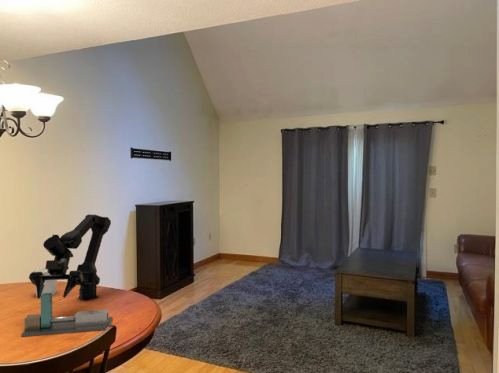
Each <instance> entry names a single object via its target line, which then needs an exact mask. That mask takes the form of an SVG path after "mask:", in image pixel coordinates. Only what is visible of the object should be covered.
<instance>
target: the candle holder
mask: <svg viewBox="0 0 499 373" xmlns="http://www.w3.org/2000/svg"><path fill="white" fill-rule="evenodd" d="M45 268H46V266H44V267H38V268H35V269H34V270H33V272H42V273H43V275H50V273H48V272H47V271H48V269H45ZM43 284H44V288H43V291H42V294H43V293H52V296H54V295H56V294H57V280H45V283H43ZM34 288H35V296H36V297H37V287H36V286H35V285H34ZM42 294H41V295H42Z"/></svg>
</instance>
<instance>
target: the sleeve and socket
mask: <svg viewBox="0 0 499 373" xmlns="http://www.w3.org/2000/svg"><path fill="white" fill-rule="evenodd" d="M109 314H110V313H109V309H107V308H106V309H97V310H96V309H95V310H81V311H80V310H79V311H77V313H76V314H75V315H74V316H75V321H74V322H60V323H53V324H52V325H51V327H44V328H41V324H40V319H41V313H39V314H28V315H27V316H26V317H25V318H24V331H22V332H21V336H20V337H34V336H46V335H58V334H59V335H60V334H61V335H62V334H70V333H71V334H72V333H83V332H84V333H85V332H96V331H106V330H105V329H106V328H107V327H109V326H111V324H112V321H113V316H110V315H109ZM109 328H110V327H109Z"/></svg>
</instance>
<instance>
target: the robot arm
mask: <svg viewBox="0 0 499 373" xmlns="http://www.w3.org/2000/svg"><path fill="white" fill-rule="evenodd" d="M111 224H112V221H111V219H110V218H109V217H108V216H101V215H97V214H86V215H85V217H84V218H83V220H81V222H79V224H77V225H76V226H75V227H74V229H72V230H70V231H67V232H65V233H64V234H63V235H61V237H60V235H59V234H52V236H51V237H48V238H46V240H45V241H44V242H43V248H44V249H45V250H46V251H47V252H48V253H49V254H50V255H51V256H53V260H50V259H49V260H46V261H45V262H46V263H45V267H46V268H45V269H48V271H47V272H48V273H50V275H43V273H42V272H34V271H32V272H30V274H29V276H28V279H29V281H30V282H31V283H32V285H34V287H35V286H36V287H37V296H36V298H37V299H38V300H41V294H42V291H43V288H44V284H43V283H45V280H58V281H62V280H67V283H66V285H65V289H64V291H63V295H62V297H63V298H66V297H67V296H69V293H70V292H71V291H72V290H73V289H74V288H75V287H76V286H79V289H78V291H79V292H78V298H79V299H81V300H83V301H89V300H92V299H93V300H94V299H97V298H99V295H98V294H97V286H98V285H99V284H100V282H101V281H100V280H101V279H100V277H99V276H98V274H97V272H98V270H97V267H96V262H97V258H98V254H99V251H100V247H101V243H102V240H103V237H104V235H105V234H107V232H108V231H109V229H110V226H111ZM90 229H91V237H90V241H89V244H88V247H87V250H86V252H85V253H86V254H85V257H84V260H83V262H82V263H81V264H78V265H77V268H76V270H70V271H69V272H68V273H67V271H68V270H69V269H70V267H69V264H70V259H71V258H74V254H73V253H72V250H71V249H73V250H76V249H78V248H79V246H80V245H81V243H82V242H83V237H84V236H85V235H86V234H87V233H88V231H89V230H90Z"/></svg>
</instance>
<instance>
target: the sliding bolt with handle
mask: <svg viewBox="0 0 499 373" xmlns="http://www.w3.org/2000/svg"><path fill="white" fill-rule="evenodd" d="M40 314H41V319H40V324H41V328H44V327H51V325H52V324H53V323H60V322H74V321H75V315H68V316H67V315H66V316H65V315H64V316H54V317H53V295H52V293H43V294H42V295H41V297H40Z"/></svg>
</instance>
